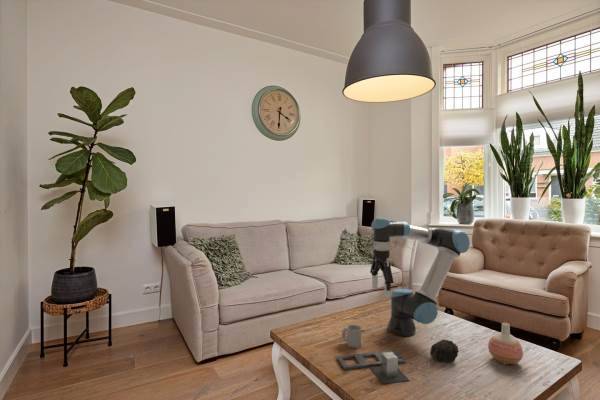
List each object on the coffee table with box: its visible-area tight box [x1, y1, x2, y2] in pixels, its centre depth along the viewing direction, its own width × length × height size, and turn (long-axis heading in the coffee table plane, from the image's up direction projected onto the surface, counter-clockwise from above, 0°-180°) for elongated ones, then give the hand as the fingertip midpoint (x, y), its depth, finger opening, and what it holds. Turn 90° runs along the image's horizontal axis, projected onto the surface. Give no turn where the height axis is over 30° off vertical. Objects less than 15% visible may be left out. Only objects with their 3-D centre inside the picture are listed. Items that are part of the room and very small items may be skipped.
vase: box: [487, 322, 524, 365], centre depth 150 cm, size 14×14×18 cm
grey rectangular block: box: [381, 352, 399, 377], centre depth 139 cm, size 5×5×8 cm
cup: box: [341, 324, 362, 349], centre depth 166 cm, size 7×10×9 cm
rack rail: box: [336, 349, 407, 371], centre depth 150 cm, size 30×10×1 cm, turn 102°
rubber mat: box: [369, 366, 410, 385], centre depth 139 cm, size 12×12×1 cm
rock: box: [429, 339, 459, 363], centre depth 152 cm, size 10×11×10 cm
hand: (380, 292), depth 160 cm, fingers open, 13 cm apart
